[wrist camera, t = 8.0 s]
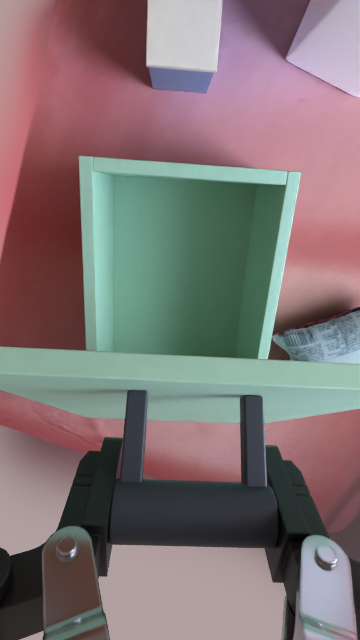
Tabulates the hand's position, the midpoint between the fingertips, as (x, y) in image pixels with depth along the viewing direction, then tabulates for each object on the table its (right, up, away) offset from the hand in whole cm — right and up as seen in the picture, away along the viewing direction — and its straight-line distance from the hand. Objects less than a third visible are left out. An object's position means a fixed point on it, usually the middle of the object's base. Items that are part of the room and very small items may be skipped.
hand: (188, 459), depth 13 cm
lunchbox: (0, +10, +22) cm, 24 cm away
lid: (0, +1, +7) cm, 7 cm away
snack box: (0, +30, +14) cm, 33 cm away
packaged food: (+16, +3, +25) cm, 30 cm away
